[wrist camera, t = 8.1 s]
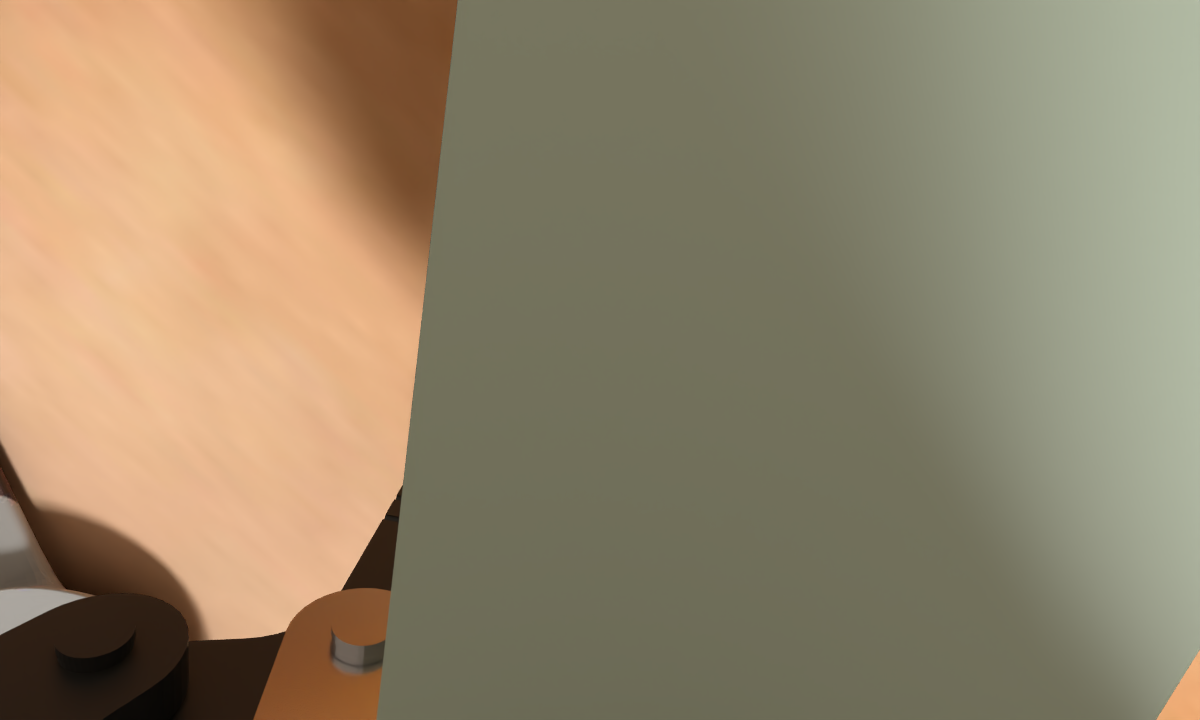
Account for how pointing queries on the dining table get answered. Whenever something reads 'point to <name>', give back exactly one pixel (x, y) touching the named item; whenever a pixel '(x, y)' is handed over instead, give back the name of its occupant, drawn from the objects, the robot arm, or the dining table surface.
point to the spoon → (24, 568)
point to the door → (807, 365)
